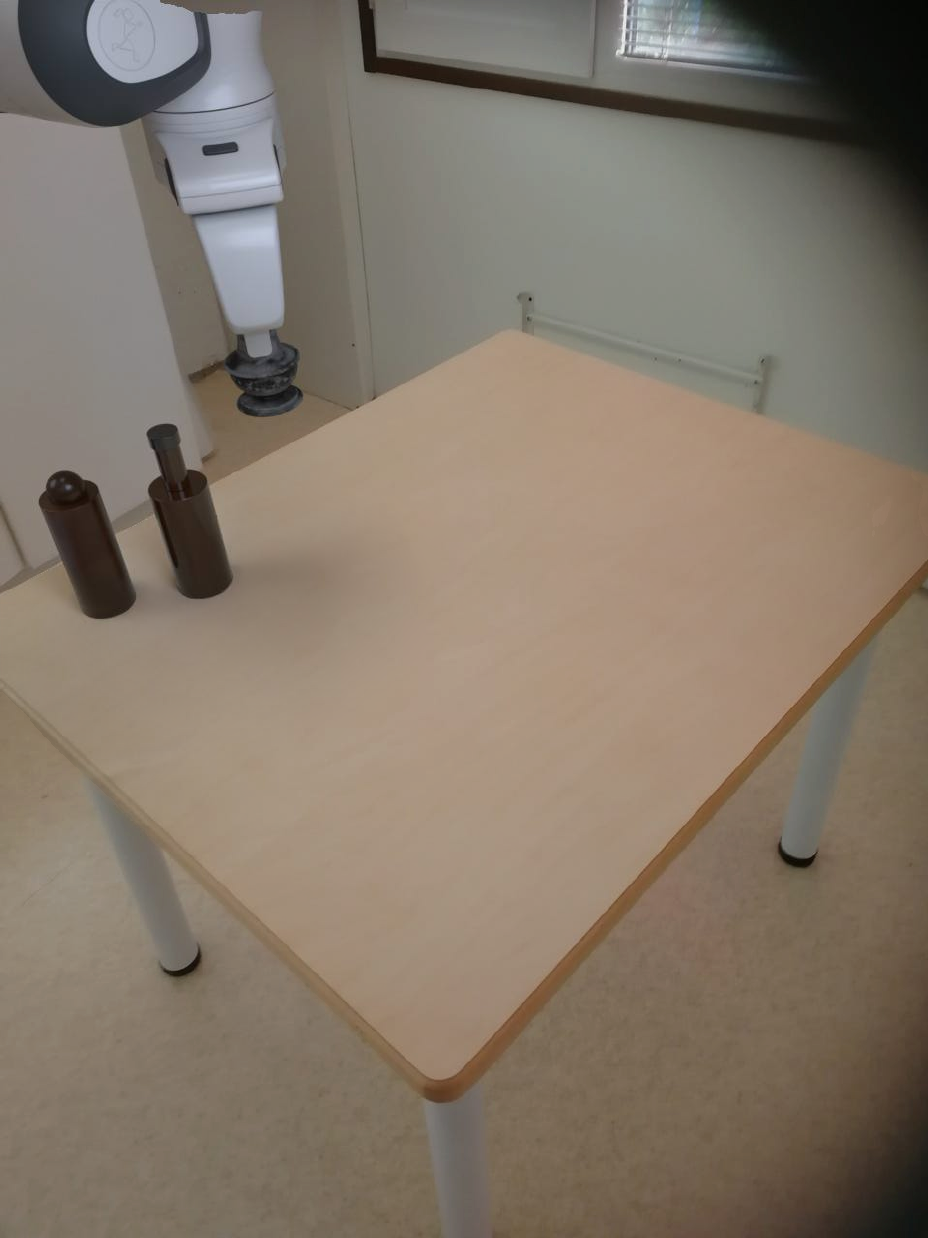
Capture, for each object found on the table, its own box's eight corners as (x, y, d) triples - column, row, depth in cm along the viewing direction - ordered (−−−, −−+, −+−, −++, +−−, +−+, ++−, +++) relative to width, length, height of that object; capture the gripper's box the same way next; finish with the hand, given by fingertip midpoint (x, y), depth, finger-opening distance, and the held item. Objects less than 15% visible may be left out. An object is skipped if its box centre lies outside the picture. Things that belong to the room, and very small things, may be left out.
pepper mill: (81, 624, 88) (27, 494, 78) (82, 591, 91) (31, 463, 82) (136, 612, 89) (90, 482, 79) (135, 580, 92) (90, 452, 83)
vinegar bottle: (179, 604, 89) (131, 451, 78) (176, 571, 93) (129, 421, 82) (235, 592, 90) (195, 440, 79) (230, 560, 94) (191, 411, 83)
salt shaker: (322, 392, 77) (297, 241, 69) (273, 425, 73) (241, 269, 65) (267, 376, 79) (237, 229, 71) (217, 407, 75) (180, 255, 68)
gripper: (162, 112, 71) (205, 295, 80) (176, 196, 56) (226, 408, 65) (247, 102, 72) (280, 283, 81) (283, 181, 57) (318, 392, 66)
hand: (256, 340), depth 73 cm, fingers closed on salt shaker, 3 cm apart
